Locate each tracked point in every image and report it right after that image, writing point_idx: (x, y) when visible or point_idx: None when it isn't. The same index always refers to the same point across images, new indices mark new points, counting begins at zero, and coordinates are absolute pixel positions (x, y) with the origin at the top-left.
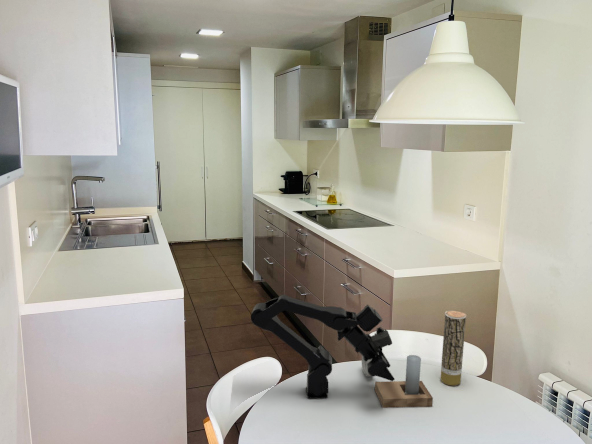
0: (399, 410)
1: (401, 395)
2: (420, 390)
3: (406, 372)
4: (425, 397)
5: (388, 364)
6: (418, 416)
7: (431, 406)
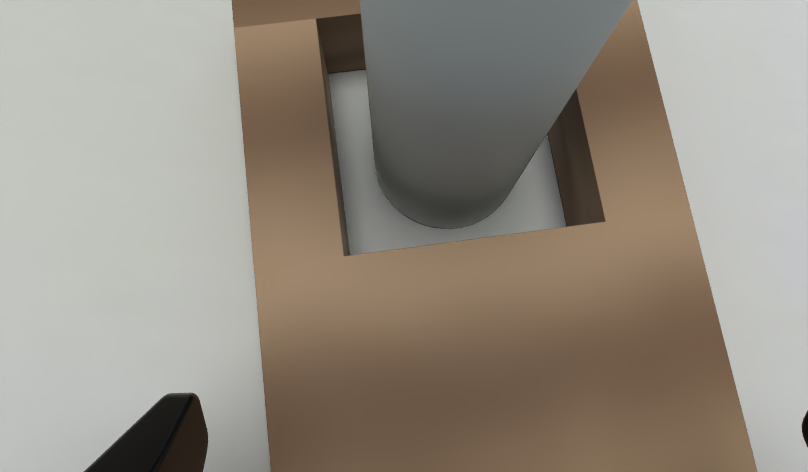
0: None
1: (631, 271)
2: None
3: (523, 86)
4: None
5: (180, 450)
6: (787, 150)
7: None
